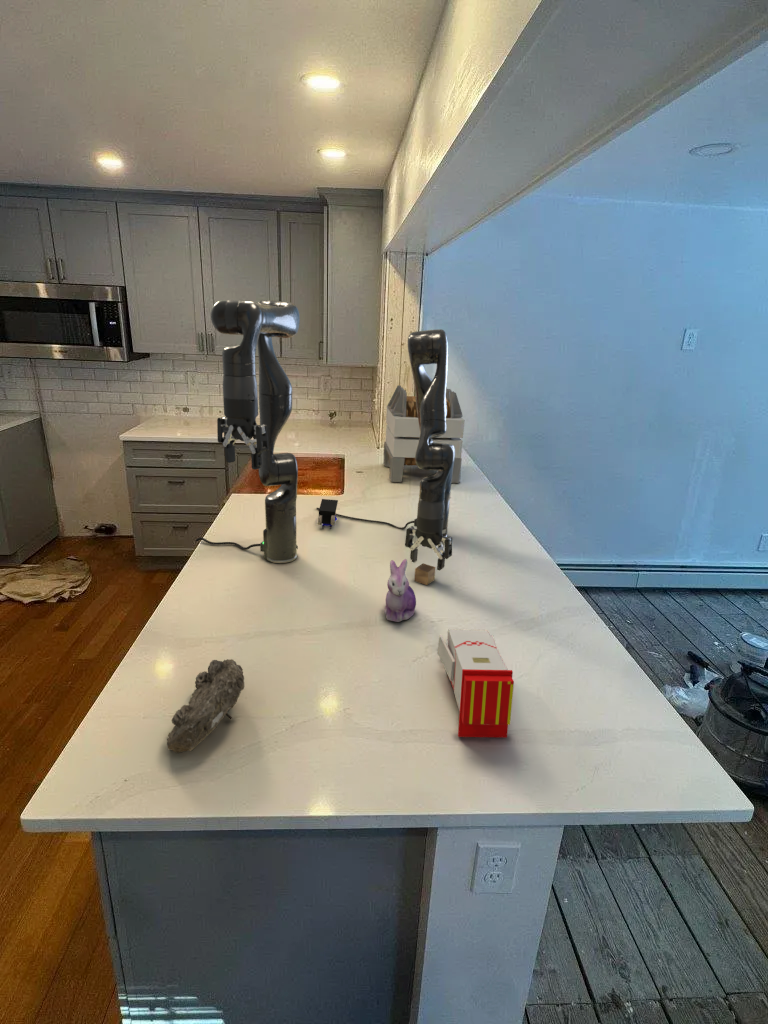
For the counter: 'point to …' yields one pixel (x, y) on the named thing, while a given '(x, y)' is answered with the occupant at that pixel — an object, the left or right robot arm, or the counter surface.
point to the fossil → (206, 705)
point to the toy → (478, 682)
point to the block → (424, 574)
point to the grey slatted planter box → (418, 433)
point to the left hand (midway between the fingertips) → (243, 465)
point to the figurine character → (327, 513)
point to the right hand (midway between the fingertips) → (426, 565)
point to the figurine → (399, 594)
